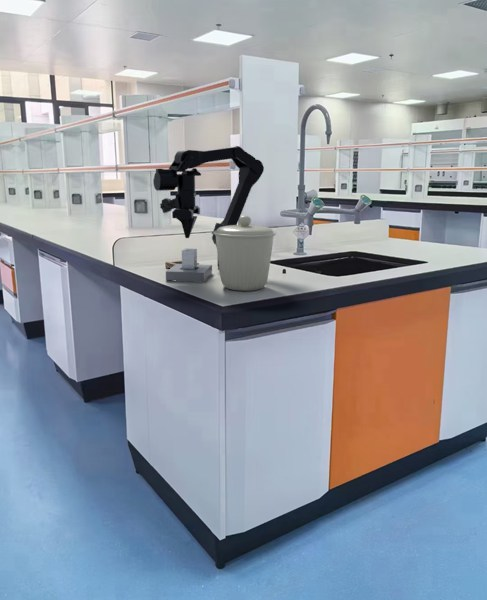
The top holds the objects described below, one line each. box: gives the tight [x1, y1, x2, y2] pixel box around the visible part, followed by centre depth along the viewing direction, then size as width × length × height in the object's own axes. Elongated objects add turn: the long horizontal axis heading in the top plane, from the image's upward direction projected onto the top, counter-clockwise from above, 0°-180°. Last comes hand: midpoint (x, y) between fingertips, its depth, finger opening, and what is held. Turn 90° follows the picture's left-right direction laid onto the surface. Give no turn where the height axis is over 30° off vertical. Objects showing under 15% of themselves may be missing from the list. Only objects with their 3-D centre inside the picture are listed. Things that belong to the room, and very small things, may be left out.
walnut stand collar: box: [164, 259, 200, 269], centre depth 184 cm, size 8×8×2 cm
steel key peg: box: [181, 248, 198, 270], centre depth 168 cm, size 4×4×9 cm
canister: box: [212, 215, 277, 292], centre depth 153 cm, size 18×18×21 cm
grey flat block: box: [165, 264, 213, 283], centre depth 169 cm, size 12×14×3 cm
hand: (187, 238), depth 175 cm, fingers closed
